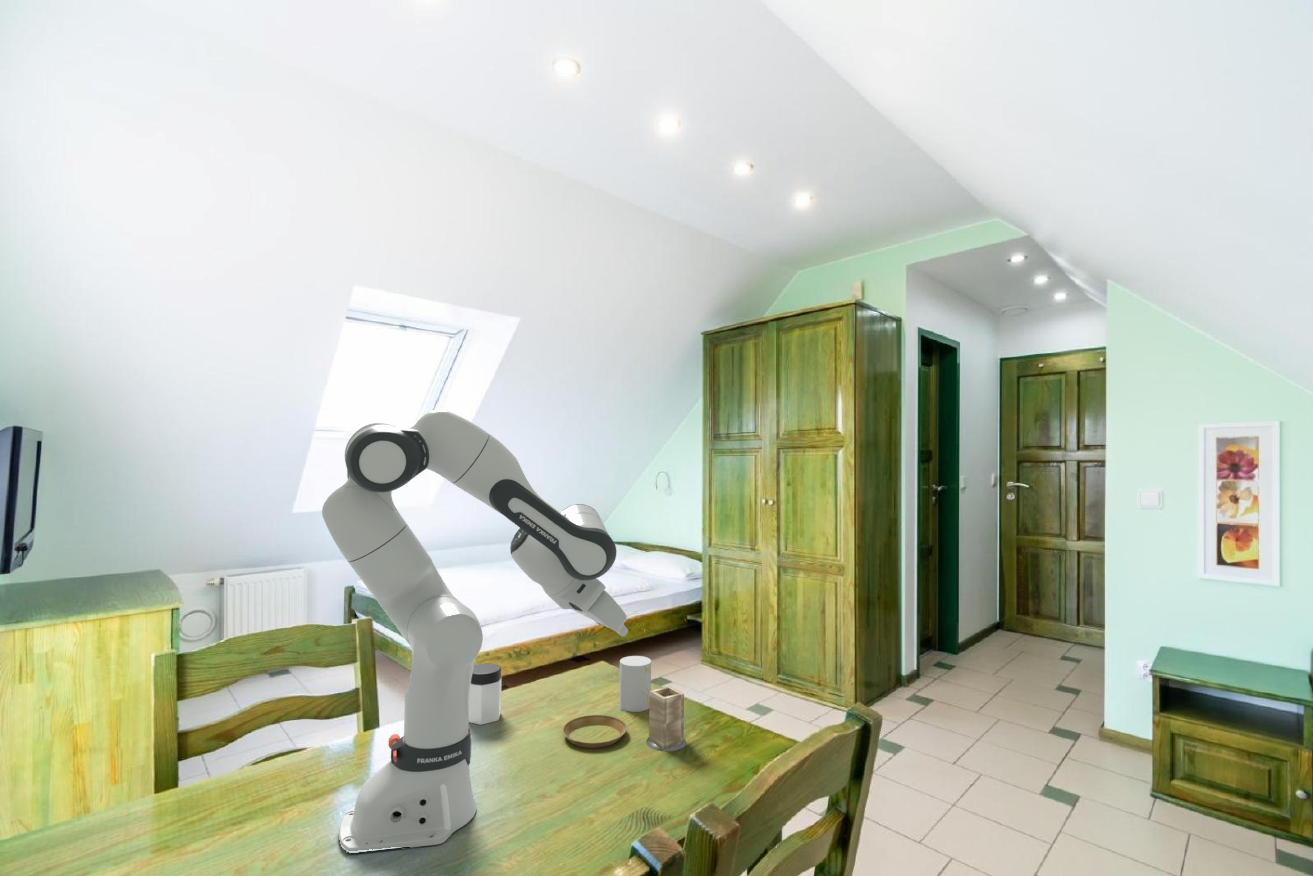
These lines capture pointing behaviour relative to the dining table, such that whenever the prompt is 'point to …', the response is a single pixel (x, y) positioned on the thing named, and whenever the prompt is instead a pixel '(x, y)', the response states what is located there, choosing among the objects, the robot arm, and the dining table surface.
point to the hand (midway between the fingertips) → (613, 627)
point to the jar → (485, 694)
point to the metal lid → (665, 749)
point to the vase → (666, 717)
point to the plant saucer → (594, 720)
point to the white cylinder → (635, 683)
